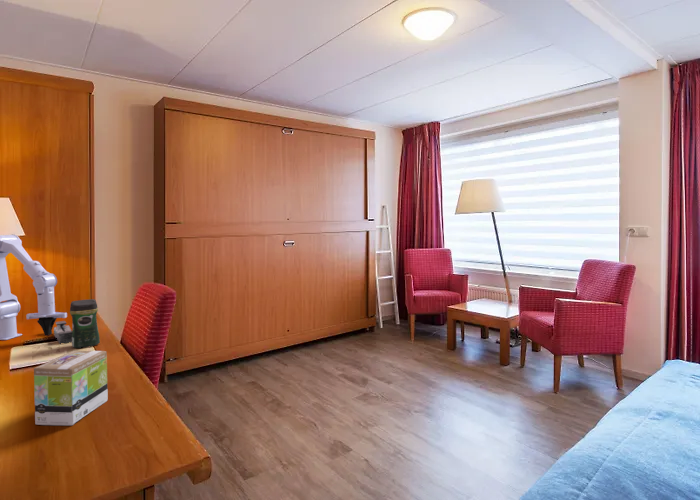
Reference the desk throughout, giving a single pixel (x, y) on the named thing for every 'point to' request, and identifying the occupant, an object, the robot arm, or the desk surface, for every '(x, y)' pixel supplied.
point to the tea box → (70, 387)
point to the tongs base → (67, 332)
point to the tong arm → (60, 332)
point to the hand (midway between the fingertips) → (47, 335)
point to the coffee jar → (84, 323)
